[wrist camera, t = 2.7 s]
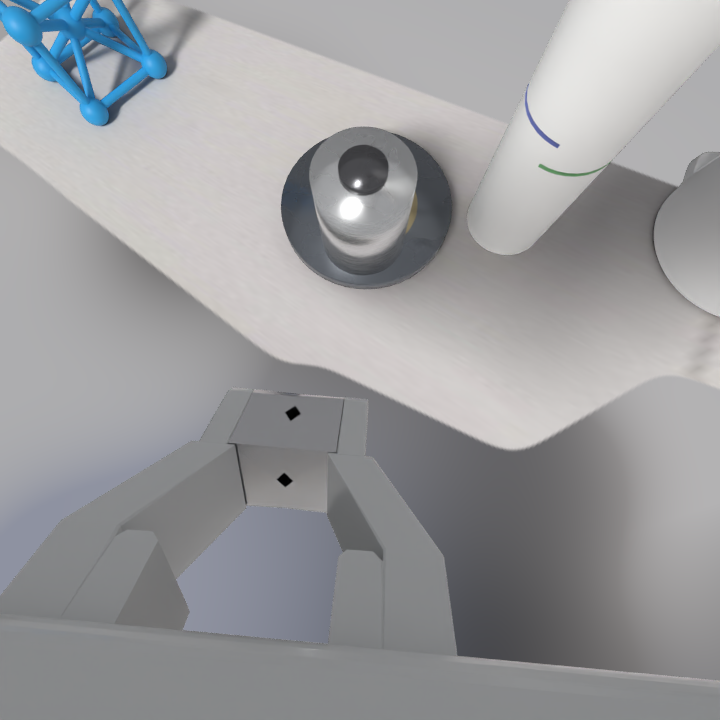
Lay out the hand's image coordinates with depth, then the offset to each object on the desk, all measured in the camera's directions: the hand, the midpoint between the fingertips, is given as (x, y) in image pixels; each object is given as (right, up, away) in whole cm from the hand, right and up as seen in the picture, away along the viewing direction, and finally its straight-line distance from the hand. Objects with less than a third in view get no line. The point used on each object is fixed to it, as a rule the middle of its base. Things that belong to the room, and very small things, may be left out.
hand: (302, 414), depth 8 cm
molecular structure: (-25, +31, +30) cm, 50 cm away
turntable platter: (+2, +15, +25) cm, 29 cm away
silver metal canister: (+2, +12, +23) cm, 26 cm away
